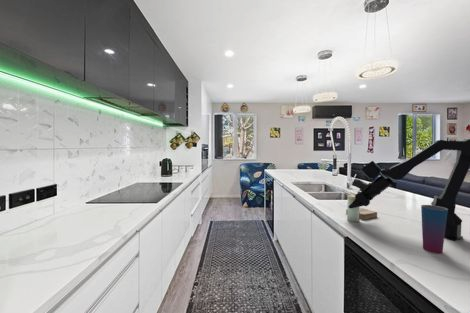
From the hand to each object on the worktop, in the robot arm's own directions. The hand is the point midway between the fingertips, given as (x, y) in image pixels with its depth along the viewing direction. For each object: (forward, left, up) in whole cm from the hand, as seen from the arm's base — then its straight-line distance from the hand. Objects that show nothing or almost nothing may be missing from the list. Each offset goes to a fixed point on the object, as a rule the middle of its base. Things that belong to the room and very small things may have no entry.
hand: (350, 206), depth 108 cm
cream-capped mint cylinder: (-1, -1, -7) cm, 7 cm away
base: (+2, -11, -7) cm, 13 cm away
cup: (-34, +2, -7) cm, 35 cm away
